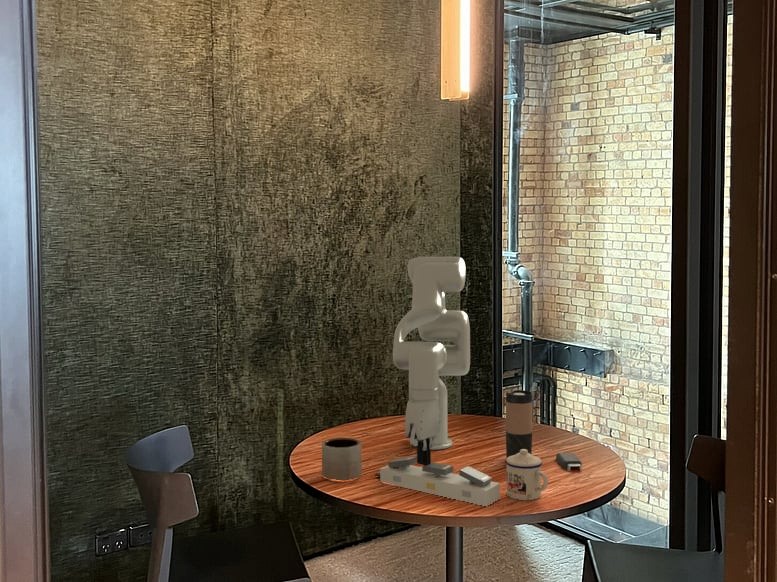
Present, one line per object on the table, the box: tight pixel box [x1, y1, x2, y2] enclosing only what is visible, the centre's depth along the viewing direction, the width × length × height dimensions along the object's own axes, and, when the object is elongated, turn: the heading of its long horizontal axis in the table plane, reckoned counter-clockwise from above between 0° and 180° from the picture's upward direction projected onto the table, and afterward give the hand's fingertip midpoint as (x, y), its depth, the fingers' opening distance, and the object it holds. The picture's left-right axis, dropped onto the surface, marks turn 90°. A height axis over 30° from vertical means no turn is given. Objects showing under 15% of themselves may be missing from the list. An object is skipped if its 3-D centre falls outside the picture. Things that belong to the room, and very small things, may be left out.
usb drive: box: [555, 452, 583, 472], centre depth 219 cm, size 5×12×3 cm, turn 1°
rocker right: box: [458, 466, 493, 487], centre depth 191 cm, size 7×4×2 cm, turn 54°
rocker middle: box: [422, 461, 455, 475], centre depth 198 cm, size 7×4×2 cm, turn 54°
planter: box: [321, 437, 363, 480], centre depth 210 cm, size 11×11×10 cm
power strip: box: [374, 464, 501, 508], centre depth 199 cm, size 36×7×5 cm, turn 54°
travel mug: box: [505, 389, 533, 459], centre depth 223 cm, size 8×8×20 cm
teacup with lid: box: [505, 449, 549, 501], centre depth 193 cm, size 12×9×12 cm
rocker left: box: [387, 455, 417, 468], centre depth 204 cm, size 7×4×2 cm, turn 54°
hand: (423, 463), depth 200 cm, fingers closed
